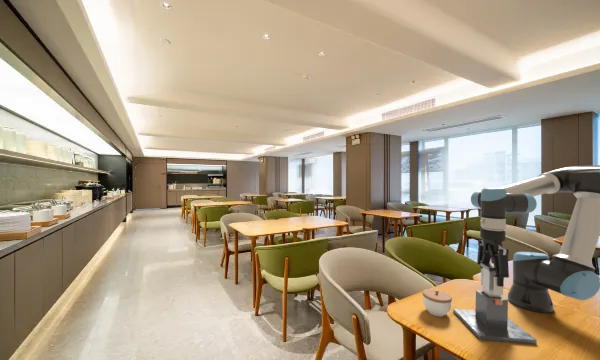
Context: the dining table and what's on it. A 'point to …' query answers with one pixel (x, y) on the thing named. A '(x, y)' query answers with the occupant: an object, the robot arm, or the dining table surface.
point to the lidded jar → (437, 302)
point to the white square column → (488, 280)
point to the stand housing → (493, 321)
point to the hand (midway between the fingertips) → (491, 289)
